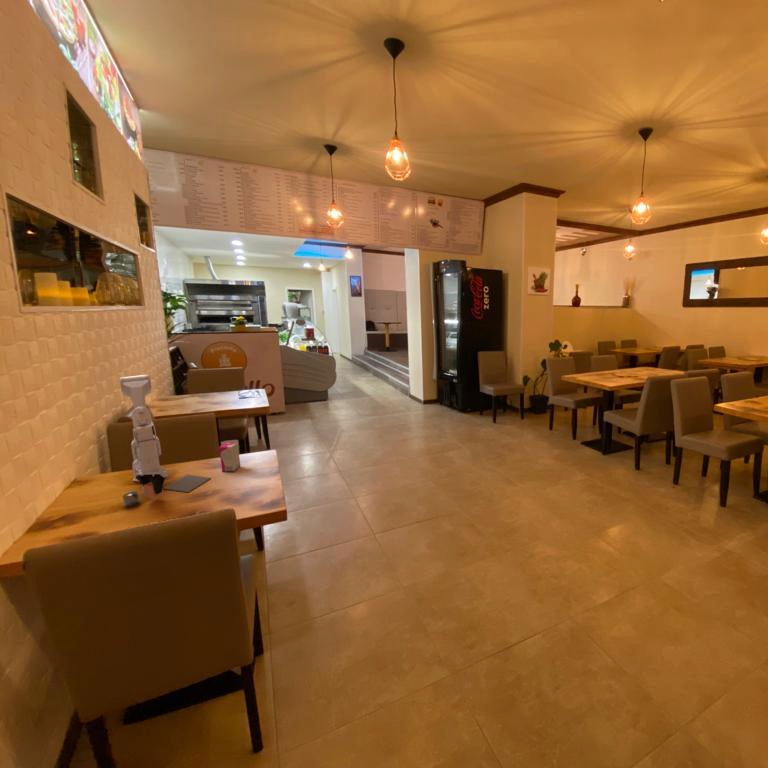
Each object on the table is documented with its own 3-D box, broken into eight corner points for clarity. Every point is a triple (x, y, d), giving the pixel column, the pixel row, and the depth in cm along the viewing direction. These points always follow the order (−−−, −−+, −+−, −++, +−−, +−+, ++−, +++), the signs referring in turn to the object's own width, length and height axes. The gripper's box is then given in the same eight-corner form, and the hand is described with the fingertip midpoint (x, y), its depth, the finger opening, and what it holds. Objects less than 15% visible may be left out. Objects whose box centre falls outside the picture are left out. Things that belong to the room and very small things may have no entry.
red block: (145, 497, 132) (143, 485, 131) (155, 492, 136) (153, 480, 134) (154, 499, 131) (152, 486, 130) (163, 493, 134) (161, 481, 133)
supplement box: (240, 466, 162) (238, 442, 159) (234, 472, 156) (231, 447, 153) (228, 466, 162) (225, 441, 160) (221, 472, 156) (218, 447, 154)
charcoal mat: (163, 488, 142) (163, 488, 142) (187, 475, 154) (187, 474, 154) (188, 492, 139) (187, 491, 139) (210, 478, 150) (210, 477, 150)
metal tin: (121, 506, 130) (119, 496, 129) (133, 500, 134) (131, 490, 133) (130, 508, 129) (129, 498, 128) (142, 502, 133) (140, 492, 132)
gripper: (122, 459, 128) (128, 494, 131) (154, 464, 124) (160, 500, 127) (140, 452, 135) (146, 485, 138) (171, 456, 131) (176, 490, 134)
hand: (154, 492), depth 133 cm, fingers closed on red block, 4 cm apart
